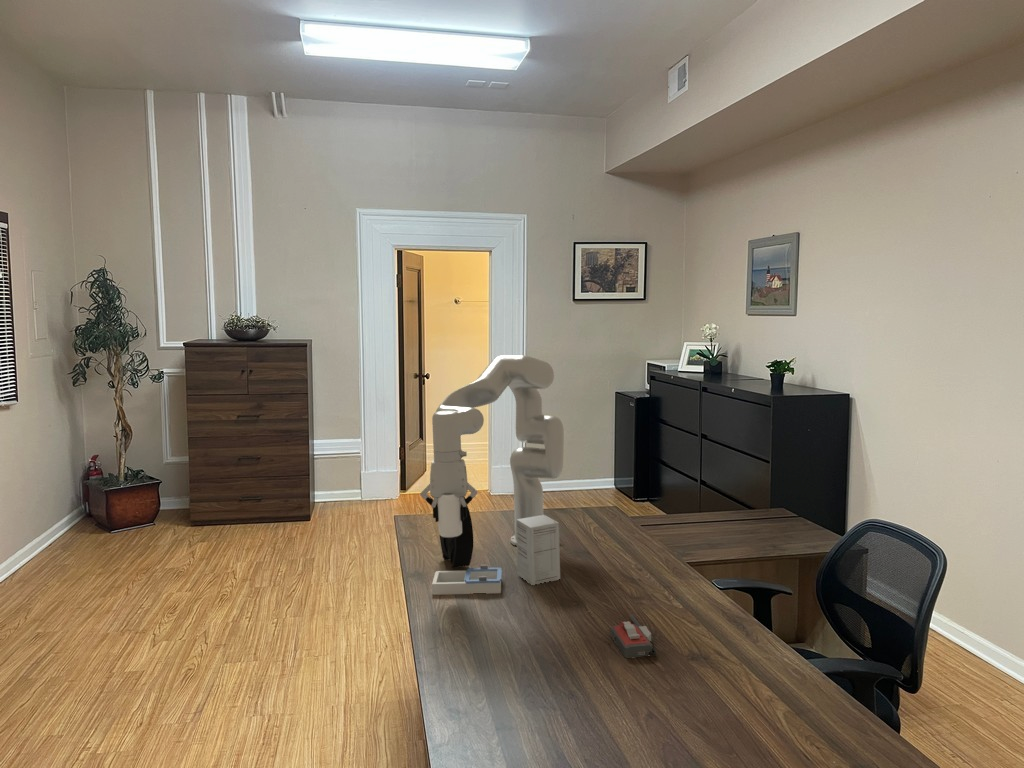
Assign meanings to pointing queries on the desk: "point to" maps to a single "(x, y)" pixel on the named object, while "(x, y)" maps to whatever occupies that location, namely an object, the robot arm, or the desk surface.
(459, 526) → the can
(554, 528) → the supplement box
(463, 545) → the headphones
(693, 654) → the desk surface
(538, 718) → the desk surface
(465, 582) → the block
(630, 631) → the walkie-talkie
